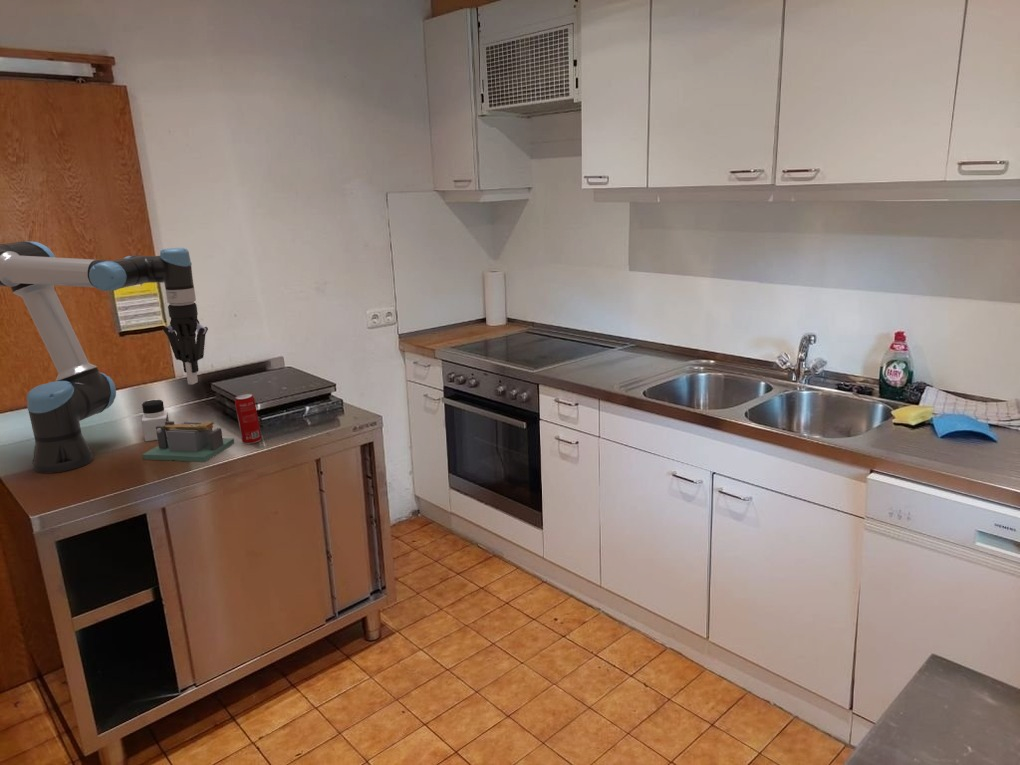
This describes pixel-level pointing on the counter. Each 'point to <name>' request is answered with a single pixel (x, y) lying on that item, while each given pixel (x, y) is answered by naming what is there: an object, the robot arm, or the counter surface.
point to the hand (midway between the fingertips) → (193, 383)
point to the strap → (190, 426)
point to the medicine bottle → (153, 418)
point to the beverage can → (247, 418)
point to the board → (186, 455)
